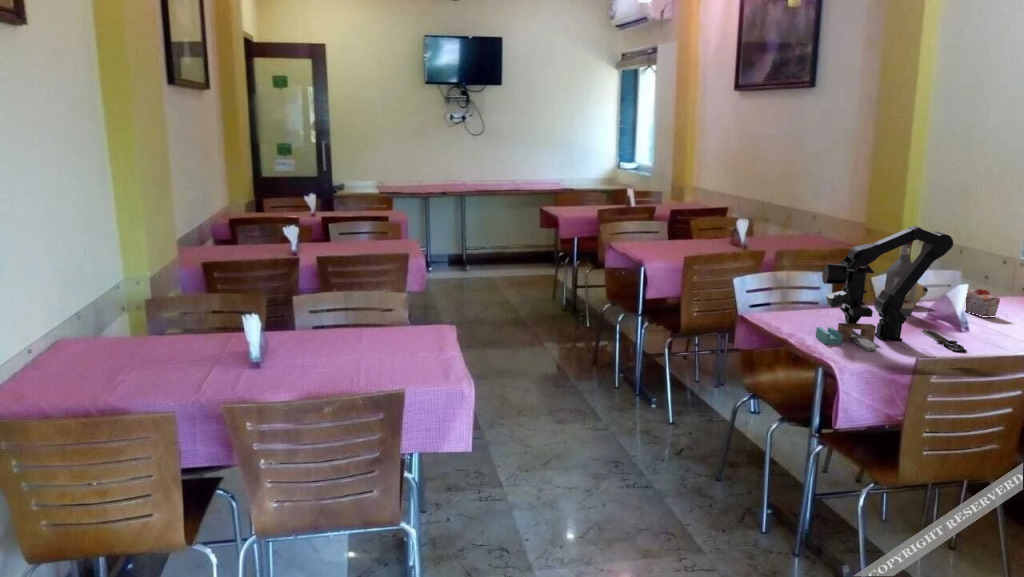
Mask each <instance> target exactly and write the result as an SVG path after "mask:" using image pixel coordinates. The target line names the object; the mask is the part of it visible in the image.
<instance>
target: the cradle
mask: <svg viewBox="0 0 1024 577" xmlns="http://www.w3.org/2000/svg"><path fill="white" fill-rule="evenodd" d="M842 335H843V334H841V333H840V332H838V329H835V328H834V327H831V326H830V327H827V330H826V329H824V328H823V327H821V326H817V327H816V330H815V338H816V339H817V340H819V341H820V342H821V343H822V344H824V345H831V344H834V346H835V345H836V346H837V345H838V346H841V345H842V342H843V341H842Z"/></svg>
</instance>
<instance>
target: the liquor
mask: <svg viewBox="0 0 1024 577" xmlns="http://www.w3.org/2000/svg"><path fill="white" fill-rule="evenodd" d="M913 243H914V241H912V242H910V243H907V244H905V245H903V246H900V252H899V253H900V254H899V257H898V260H896V261H895V262H893V264H891V265H890V266H889V267H888V268H887V270H886V276H885V283H884V290H886V291H889V290H890V289H892V288H893V287H894V286H895V284H896V283H897V282H898V281H899V279H900V278H901V277H902V276H903V274H904V273H905V272H906V271H907V269H908V268H909V267H910V266H911V264H912V263H913V262H912V258H911V254H912V248H913ZM916 286H917V283H916V284H915V285H914V286H913V288H912V289H911V290H910V291H909V293H908V294H907V295H906V297H905V300H904V304H903V306H902V308H901V310H900V312H901V313H902V314H903V315H904V316H905V317H910V316H911V315H912V313H913V312H914V311H913V310H914V306H913V305H914V299H915V293H916Z"/></svg>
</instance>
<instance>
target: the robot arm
mask: <svg viewBox="0 0 1024 577" xmlns="http://www.w3.org/2000/svg"><path fill="white" fill-rule="evenodd" d="M917 240H918V241H920V242H922V246H921V249H920V252H919V255H918V256H917V257H916V258H915V260H914V261H913V262H912V264H911V266H910V267H909V268H908V269H907V271H906V272H905V273H904V274H903V276H902V277H901V278H900V279H899V281H898V282H897V283H896V284H895V286H894V287H893V288H892V289H890V290H889V291H886V290H884V289H885V288H884V289H882V290H881V291H880V293H879V295H877V297H875V298H874V300H875V301H874V304H873V305H874V309H875V311H876V312H877V314H878V317H879V321H878V323H877V325H876V330H875V336H876V337H878V338H879V339H881V340H882V341H899V342H901V341H902V342H903V338H902V337H901V333H902V329H903V328H902V327H903V324H904V323H905V322H906V321H907V320H906V319H907V316H904V315H903V314H902V313H901V312H900V310H901V308H902V306H903V304H904V300H905V297H906V295H907V294H908V293H909V291H910V290H911V289H912V288H913V286H914V285H915V284H916V283H917V282H918V281H919V280H920V279H921V278H922V276H923V275H924V274H925V273H926V271H928V269H929V268H930V267H931V265H932V264H933V263H934V262H935V261H937V260H939V259H940V258H942V257H943V256H945V255H947V253H948V252H949V251H950V250H951V249H952V248H953V246H954V240H953V237H952V236H951V235H949V234H947V233H944V232H940V231H933V232H930V231H928V230H926V229H922V228H921V227H919V226H916V225H911V226H909V227H907V228H906V229H903V230H901V231H899V232H896V233H893V234H892V235H889V236H887V237H885V238H882V239H880V240H877V241H875V242H872V243H865V244H860V245H856V246H853V247H851V248H850V249H849V250H848V253H847V255H846V256H845V257H844V258H843V259H842V260H841V261H840V262H839V263H836V264H835V263H831V262H830V263H829V262H828V263H826V265H825V266H824V268H823V271H822V274H821V275H822V276H821V277H822V282H823V284H824V285H825V284H827V285H844V284H845V285H844V286H842V288H841V290H840V291H835V292H832V293H829V294H826V295H825V297H826V302H827V305H829V306H830V307H832V308H835V307H837V306H840V305H841V307H839V309H840V311H841V312H842V313H843V314H844V320H845V323H857V324H858V322H859V320H860V319H861V318H862V317H864V318H872V317H873V313H874V311H873V310H872V309H871V307H869V306H868V305H866V304H865V303H866V302H865V301H864V296H865V295H864V294H867V289H865V288H866V281H867V274H874V273H875V272H874V270H873V269H872V268H871V266H870V264H872V263H873V262H874V261H876V260H877V259H878V258H879V257H881V256H882V255H883V254H886V253H889V252H891V251H893V250H897V249H899V248H901V247H902V246H903V245H905V244H907V243H910V242H912V241H913V242H914V241H917Z"/></svg>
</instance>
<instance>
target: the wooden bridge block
mask: <svg viewBox="0 0 1024 577" xmlns="http://www.w3.org/2000/svg"><path fill="white" fill-rule="evenodd" d="M837 325H838V326H837V331H838V332H840V333H841V334H843V335H842V342H851V333H852V330H860V333H859V334H860V335H862V336H863V337H865V338H867V339H868V340H870V341H871V342H873V343H875V342H874V341H875V336H876V335H875V333H876V331H877V325H876V326H875V325H874V324H873V323H858V322H857V323H846V322H838V324H837Z"/></svg>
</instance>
